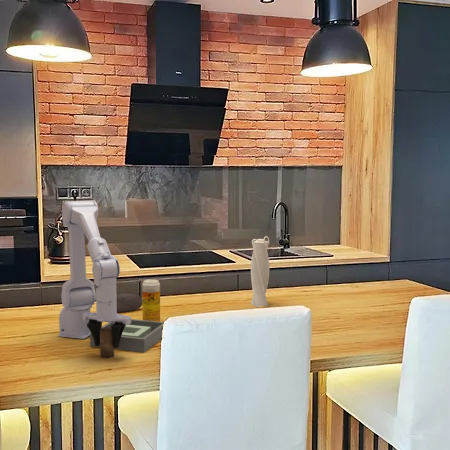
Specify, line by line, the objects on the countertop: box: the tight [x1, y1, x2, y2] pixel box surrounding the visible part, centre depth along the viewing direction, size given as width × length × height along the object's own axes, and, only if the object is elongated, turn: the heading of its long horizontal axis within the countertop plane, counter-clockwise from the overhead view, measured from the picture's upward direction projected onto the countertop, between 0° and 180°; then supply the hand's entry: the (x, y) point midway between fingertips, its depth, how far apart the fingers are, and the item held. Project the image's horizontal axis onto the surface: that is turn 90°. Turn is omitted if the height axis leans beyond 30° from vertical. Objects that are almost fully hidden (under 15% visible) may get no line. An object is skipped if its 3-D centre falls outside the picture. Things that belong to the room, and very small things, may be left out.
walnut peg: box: [99, 327, 115, 359], centre depth 160 cm, size 4×4×8 cm
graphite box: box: [89, 318, 165, 353], centre depth 174 cm, size 18×18×4 cm
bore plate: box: [121, 325, 151, 338], centre depth 174 cm, size 10×10×2 cm
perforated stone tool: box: [116, 293, 143, 313], centre depth 207 cm, size 15×5×7 cm, turn 115°
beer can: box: [141, 279, 161, 322], centre depth 192 cm, size 6×6×15 cm
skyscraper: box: [250, 235, 270, 308], centre depth 216 cm, size 8×8×28 cm
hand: (107, 346), depth 160 cm, fingers open, 5 cm apart
